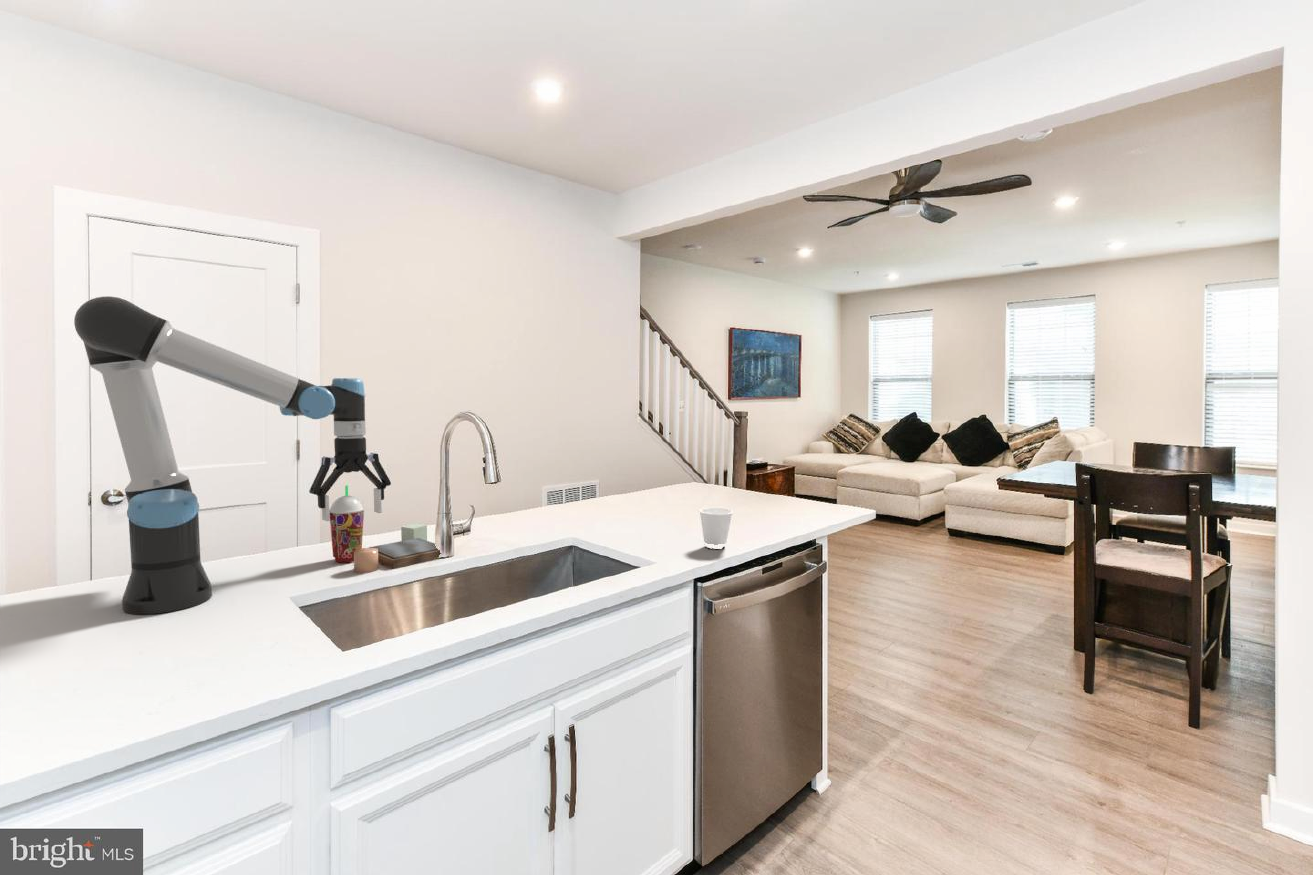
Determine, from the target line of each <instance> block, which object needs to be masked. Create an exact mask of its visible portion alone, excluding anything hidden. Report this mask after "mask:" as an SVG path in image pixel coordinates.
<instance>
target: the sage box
mask: <svg viewBox="0 0 1313 875" xmlns="http://www.w3.org/2000/svg"><path fill="white" fill-rule="evenodd" d="M400 528H401V529H400V530H401V531H400V534H401V535H400V536H401V541H405V540H410V539H416V538H420V539H423V540H426V541H428V526H427V524H423V523H422V524H420V523H411V524H407V525H403V526H401V527H400Z"/></svg>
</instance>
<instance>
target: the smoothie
mask: <svg viewBox="0 0 1313 875" xmlns="http://www.w3.org/2000/svg"><path fill="white" fill-rule="evenodd" d="M344 486H345V487H344V492H345V494H344V495H342V496H339V497H338V498H337V499H335V500H334V501H333V503H332V504H331V506H330V508H329V516H330V521H329V523H330V524H329V525H330V533H331V534H330V535H331V537H330V538H331V548H332V557H333V558H334V560H335V562H337V563H340V564H341V563H343V564H345V563H352V562H353V563H354V551H355V550H358V549H362V548H363V534H364V518H365V517H364V516H365V515H364V514H365V507H363V505H362V503H361V501H360V500H359V499H358V498H356V497H355V496H352V495H349V486H348V485H344Z"/></svg>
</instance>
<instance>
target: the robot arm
mask: <svg viewBox="0 0 1313 875" xmlns="http://www.w3.org/2000/svg"><path fill="white" fill-rule="evenodd" d="M73 320H74V321H73V323H74V327H75V328H74V329H75V331H76V334H77V336H78V337H79V338H80V339H81V341H83V345H84V348H85V352H86V355H87V359H88V363H89V366H90V368H92V369H94V370H96V371H97V372H99V373H100V374H101V375H102V379H103V383H104V386H105V391H106V394H107V397H108V401H109V404H110V408H111V411H112V416H113V420H114V422H115V426H116V430H117V433H118V438H119V441H120V445H121V448H122V452H123V456H124V459H125V463H126V466H127V470H128V473H129V478H130V482H129V483H128V484H127V485H126V487H125V488H124V493H125V497H126V500H127V506H128V507H127V510H126V517H127V518H128V529H129V530H128V531H129V548H130V562H131V563H130V564H131V566H130V568H131V572H130V575H129V578H128V581H127V583H126V584H127V585H126V587H125V590H124V593H123V596H122V600H121V602H122V604H121V605H122V611H123V612H124V613H127V614H132V615H155V614H163V613H168V612H175V611H180V610H185V609H188V608H191V607H195V606H197V605H200V604H203V603H205V602H207V601H208V600H210V599H211V598H213V586H212V583H211V582H210V579H209V577H208V575H207V572H206V571H205V569H204V566H203V564H202V562H201V545H200V544H201V543H200V538H201V537H200V520H199V519H200V518H199V510H200V503H199V502H198V497H197V495H196V494H195V493H194V492H193V489H192V486H191V482H190V479H189V476H188V475H185V474H184V473H182V472H180V471H179V469H178V464H177V461H176V460H177V459H176V456H175V453H174V448H173V445H172V442H171V438H170V434H169V429H168V426H167V422H166V417H165V414H164V411H163V406H162V403H161V398H160V396H159V391H158V390H159V389H158V386H157V383H156V379H155V375H154V371H153V367H154V365H155V364H156V363H157V362H158V363H160V364H163V365H166V366H169V367H171V368H174V369H177V370H180V371H182V372H185V373H189V374H191V375H193V376H196V377H198V378H201V379H204V380H207V381H209V382H212V383H215V384H218V385H221V386H224V387H226V388H229V389H232V390H234V391H237V392H240V393H242V394H245V395H248V396H251V397H254V398H256V399H260V400H262V401H265V402H267V403H271V404H273V405H275V406H277V407H279V411H280V414H282V415H283V416H288V417H289V416H290V417H291V416H292V417H297V416H304V417H306V418H309V419H312V420H320V419H323V418H327V417H329V416H331V415H333V435H334V436H335V438H334V439H333V441H334V442H333V443H334V444H333V446H334V457H329V456H323V457H321V464H320V467H319V469H318V471H317V474H316V476H315V478H314V480H313V482H312V484H311V487H310V488H309V490H308V491H309V494H312V495H316V497H317V507H318V508H319V509H321V518H322V521H325V522H330V512H329V510H330V497H329V495H327V493H328V492H329V491H330V490H331V488H332V487H333V485H335V483H336V482H337V480H338V479H339V478H340V476H342V475H343V474H344V473H345V474H346V473H347V474H348V473H353V472H354V473H359V472H362V474H363V475H364V476H365V477H366V478H367V479H368V480H369V481H370V482H371V483H372V484H373V485H374V486H375V487H376V488H373V510H374V511H373V512H374V513H377V514H381V513H382V512H383V511H382V501H383V500H384V499H385V489H386V488H387V487H388V486H389V487H390V486H391V485H392V482H391V480H390V478H389V476H388V475H387V473H386V471H385V468H384V467H383V465H382V463H381V462H380V458H379V454H378V453H377V452H376V453H375V452H370V453H369V454H367V438H366V437H364V436H365V435H366V433H367V432H366V429H367V428H366V409H365V408H366V402H365V401H366V399H365V397H366V394H365V387H364V386H365V384H364V381H363V380H362V379H361V378H356V377H353V378H349V377H347V378H345V377H344V378H341V377H340V378H339V377H338V378H337V377H334V378H332V380H331V381H332V382H331V385H315V384H313V383H310V382H309V381H306V380H304V379H300V378H298V377H296V376H293V375H291V374H288V373H285V372H283V371H281V370H278V369H275V368H273V367H271V366H268V365H266V364H263V363H261V362H259V361H256V360H253V359H251V358H248V357H247V356H243V355H240V354H238V353H236V352H233V351H231V350H228V349H226V348H223V347H221V346H218V345H216V344H213V343H211V342H208V341H205V340H204V339H201V338H198V337H196V336H193V335H191V334H189V333H186V332H183V331H181V330H178V329H175V328H173V326H172V325H171V323H170V321H169V320H166V319H164V318H162V317H159V316H157V315H155V314H153V313H150V312H148V311H146V310H144V309H143V308H141V307H139V306H138V305H136V304H134V303H133V302H131V301H129V300H126V299H124V298H121V297H118V296H117V297H116V296H111V295H110V296H98V297H94V298H91V299H89V300H87V301H85V302H84V303H83V304H82V305H81V306H79V308H78V309H77V310H76V312H75V315H74V319H73ZM367 461H369V462H371V465H372V466H373V469H374V471H375V473H376V474H377V475H378V476H376V475H375V474H374V473H373V472H372V471H371V470H370V468H369V467H368V466H367V465H366V463H367ZM333 463H334V464H335V465H336V466H335V467H334V469H332V472H331V473H330V475H329V476H328V477H327V475H328V472H329V471H330V468H331V467H332V465H333ZM326 477H327V478H326ZM378 477H379V478H378ZM324 480H325V481H324Z"/></svg>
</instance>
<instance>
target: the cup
mask: <svg viewBox="0 0 1313 875" xmlns="http://www.w3.org/2000/svg"><path fill="white" fill-rule="evenodd" d="M698 512H699V513H700V522H701V528H702V534H703V535H702V536H703V543H704V542H705V543H707V544H714V545H718V544H725V543H726V544H727V541H728V535H729V530H730V525H731V520H732V516H733V513H734V511H733V510H731V509H728V508H724V507H704V508H701V509H699V510H698Z"/></svg>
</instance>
